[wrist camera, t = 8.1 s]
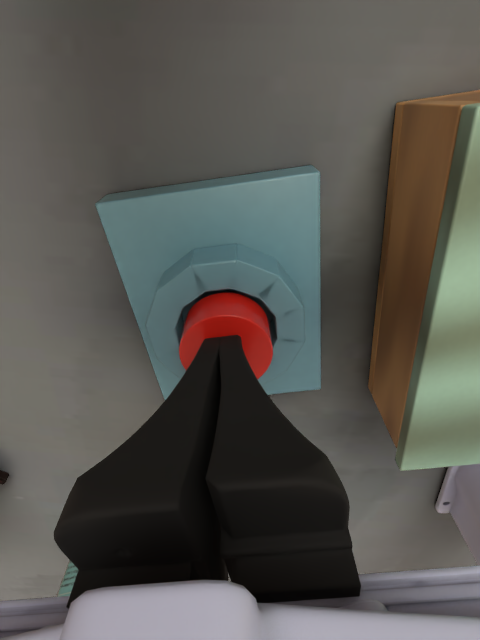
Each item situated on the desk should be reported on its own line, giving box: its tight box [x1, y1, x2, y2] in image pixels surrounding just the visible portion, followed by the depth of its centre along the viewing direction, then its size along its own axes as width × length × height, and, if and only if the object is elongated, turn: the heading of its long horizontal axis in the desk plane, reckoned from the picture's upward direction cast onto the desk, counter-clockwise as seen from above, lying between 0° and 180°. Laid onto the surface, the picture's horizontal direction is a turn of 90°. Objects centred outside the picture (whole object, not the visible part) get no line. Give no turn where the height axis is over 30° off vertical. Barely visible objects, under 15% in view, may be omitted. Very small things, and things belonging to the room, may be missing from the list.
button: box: [179, 292, 273, 379], centre depth 14 cm, size 4×4×2 cm
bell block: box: [95, 165, 321, 400], centre depth 16 cm, size 11×8×3 cm
